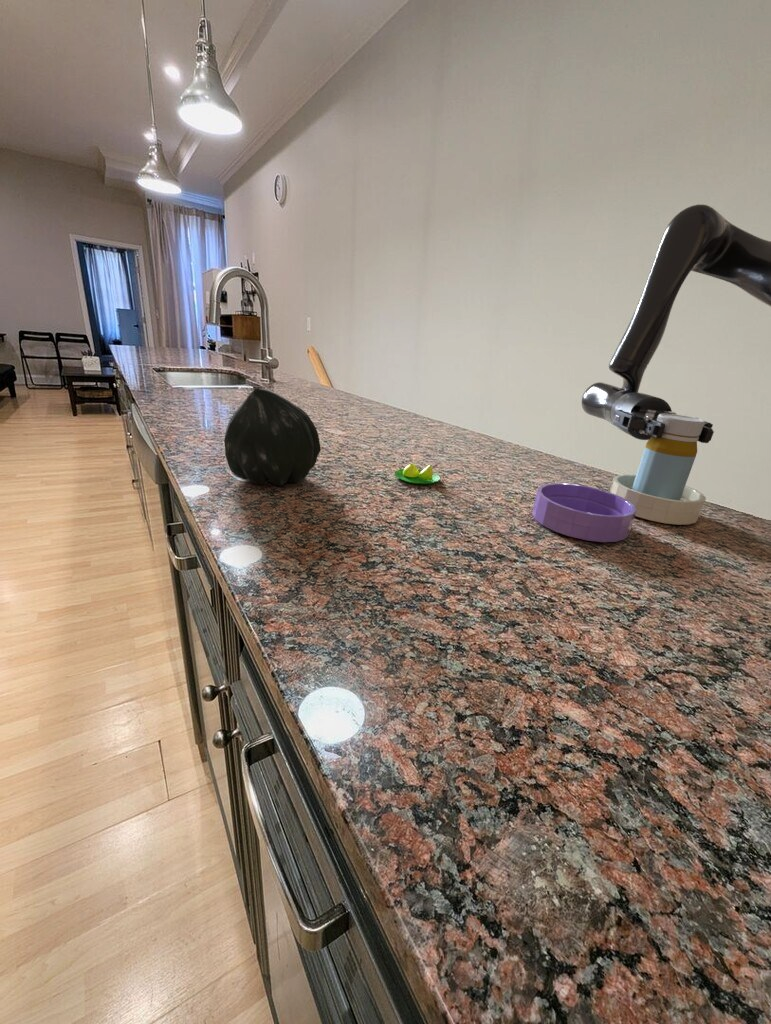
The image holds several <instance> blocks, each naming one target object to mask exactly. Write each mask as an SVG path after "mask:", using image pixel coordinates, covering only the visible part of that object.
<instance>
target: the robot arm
mask: <svg viewBox="0 0 771 1024" xmlns="http://www.w3.org/2000/svg"><path fill="white" fill-rule="evenodd" d="M691 272H693V273H698V274H701V275H705V276H708V277H711V278H715V279H718V280H722V281H724V282H727V283H730V284H732V285H734V286H736V287H738V288H739V289H741V290H742V291H743V292H745V293H747V294H748V295H749V296H751V297H753V298H754V299H756V300H758V301H760V302H761V303H763V304H765V305H766V306H769V307H770V308H771V241H770V240H767V239H764V238H762V237H761V238H760V237H758V236H756V235H754V234H752V233H750V232H748V231H746V230H744V229H742V228H740V227H738V226H736V225H735V224H733V223H732V222H730V221H728V220H727V219H726V218H725V217H724V216H723V215H722V214H721V213H720V212H719V211H717V210H716V209H715V208H714V207H712V206H710V205H708V204H700V203H699V204H693V205H691V206H688V207H686V208H684V209H682V210H681V211H680V212H678V213H677V214H676V215H675V216H674V217H673V218H672V219H671V220H670V222H669V223H668V224H667V226H666V228H665V230H664V232H663V234H662V237H661V240H660V242H659V245H658V248H657V251H656V254H655V257H654V260H653V262H652V266H651V270H650V272H649V275H648V277H647V280H646V281H645V285H644V287H643V290H642V293H641V295H640V298H639V301H638V302H637V305H636V307H635V310H634V312H633V315H632V317H631V319H630V321H629V323H628V325H627V327H626V329H625V332H624V333H623V335H622V337H621V339H620V341H619V343H618V345H617V346H616V349H615V351H614V353H613V355H612V356H611V359H610V361H609V363H608V369H609V371H611V372H612V373H613V374H615V375H617V376H618V377H620V378H622V386H621V387H619V386H615V385H612V384H609V383H605V382H603V381H602V382H601V381H599V382H594V383H592V384H591V385H589V386H588V387H586V389H585V391H584V392H583V394H582V397H581V408H582V410H583V411H584V412H585V414H587V415H589V416H592V417H595V418H599V419H602V420H604V421H606V422H608V423H610V424H611V425H613V426H614V427H616V428H617V429H618V430H620V431H621V432H623V433H624V434H627V435H629V436H631V437H633V438H635V439H637V440H640V441H648V440H649V439H650V438H651V436H653V437H655V438H661V437H662V435H663V432H664V429H665V424H664V423H662V422H659V421H657V418H658V415H659V414H674V415H678V413H676V411H673V410H672V408H671V406H670V403H668V402H667V401H666V400H665V399H663V398H660V397H657V396H655V395H650V394H647V393H644V392H639V390H640V387H641V383H642V380H643V377H644V374H645V372H646V369H647V368H648V366H649V364H650V363H651V361H652V359H653V357H654V355H655V353H656V351H657V350H658V348H659V346H660V344H661V341H662V339H663V336H664V334H665V331H666V328H667V326H668V321H669V320H670V319H669V318H670V315H671V312H672V309H673V305H674V303H675V301H676V298H677V296H678V294H679V292H680V290H681V288H682V286H683V284H684V282H685V281H686V279H687V277H688V275H689V274H690V273H691ZM713 426H714V423H712V422H708V421H706V420H704V426H703V429H702V431H701V434H700V435H699V439H698V441H697V442H699V443H702V444H709V443H710V441H712V438H713V435H714V433H715V431H714V429H713Z"/></svg>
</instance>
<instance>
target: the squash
mask: <svg viewBox="0 0 771 1024" xmlns="http://www.w3.org/2000/svg"><path fill="white" fill-rule="evenodd" d="M223 441H224V443H223V444H224V454H225V459H226V462H227V465H228V468H229V470H230V471H231V473H232V474H234V475H235V476H236V477H238V478H239V479H243V480H247V481H249V482H251V483H253V484H257V485H264V484H266V483H268V482H271V483H272V484H273V485H275V486H283V485H285V484H286V483H287V482H289V483H298V482H301V481H303V480H304V479H305V478H306V477H307V476H308V475H309V474H310V471H311V469H312V468H314V467H315V465H316V463H317V459H318V457H319V455H320V453H321V449H322V448H321V441H320V436H319V433H318V430H317V427H316V425H315V423H314V421H313V420H312V419H311V417H310V416H309V414H308V413H307V412H305V410H303V409H302V408H301V407H300V406H297V405H296V404H294V403H293V402H291V401H289V400H288V399H287V398H285V397H284V396H282V395H279V394H278V393H276V392H273V391H272V390H269V389H265V388H258V387H255V388H254V389H253V390H252V391H251V392H250V393H249V394H248V396H246V398H245V400H243V402H242V403H241V405H240V406H239V407H238V408H237V409H236V410H235V411H234V413H233V414H232V416H231V417H230V419H229V421H228V424H227V426H226V430H225V434H224V440H223Z"/></svg>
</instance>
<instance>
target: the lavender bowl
mask: <svg viewBox="0 0 771 1024" xmlns="http://www.w3.org/2000/svg"><path fill="white" fill-rule="evenodd" d="M531 515H532V516H533V519H534V520H535V522H538V523H539V524H540V525H541V526H543V527H545V528H547V529H549V530H552V531H553V532H555V533H558V534H560V535H564V536H567V537H569V538H570V537H571V538H575V539H578V540H579V539H580V540H582V541H583V540H584V541H590V542H597V543H615V542H620V541H624V540H626V539H627V538H628V537H629V536H630V533H631V529H632V527H633V524H634V520H635V517H636V516H635V515H636V507H635V506H634V505H633V504H632V503H631V502H629V501H628V500H626V499H624V498H622V497H620V496H618V495H615V494H612V493H610V492H609V491H607V490H603V489H600V488H596V487H593V486H587V485H582V484H574V483H567V482H566V483H565V482H563V483H562V482H555V483H554V482H552V483H545V484H544V483H543V484H542V485H540V486H538V488H537V490H536V495H535V498H534V503H533V506H532V512H531Z"/></svg>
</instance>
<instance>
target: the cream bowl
mask: <svg viewBox="0 0 771 1024" xmlns="http://www.w3.org/2000/svg"><path fill="white" fill-rule="evenodd" d="M635 478H636V474H619V475H615V476H614V477H613V478H612V481H611V485H610V488H609V491H608V492H610V493H612V494H615V495H618V496H620V497H622V498H624V499H626V500H628V501H629V502H631V503H632V504H633V505H634V506H635V507H636V515H635V517H637V518H640V519H643V520H646V521H651V522H656V523H662V524H668V525H675V526H676V525H681V526H682V525H692V524H696V523H697V522H698V520H699V517H700V515H701V513H702V510H703V507H704V505H705V502H706V500H707V497H706V496H705V494H704V493H702V492H701V491H699V490H697V489H695V488H693V487H690V486H688V485H685V488H684V490H683V493H682V496H681V499H680V501H679V500H671V499H665V498H660V497H655V496H651V495H648V494H644V493H641V492H638V491H635V490H632V487H633V484H634V481H635Z"/></svg>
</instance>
